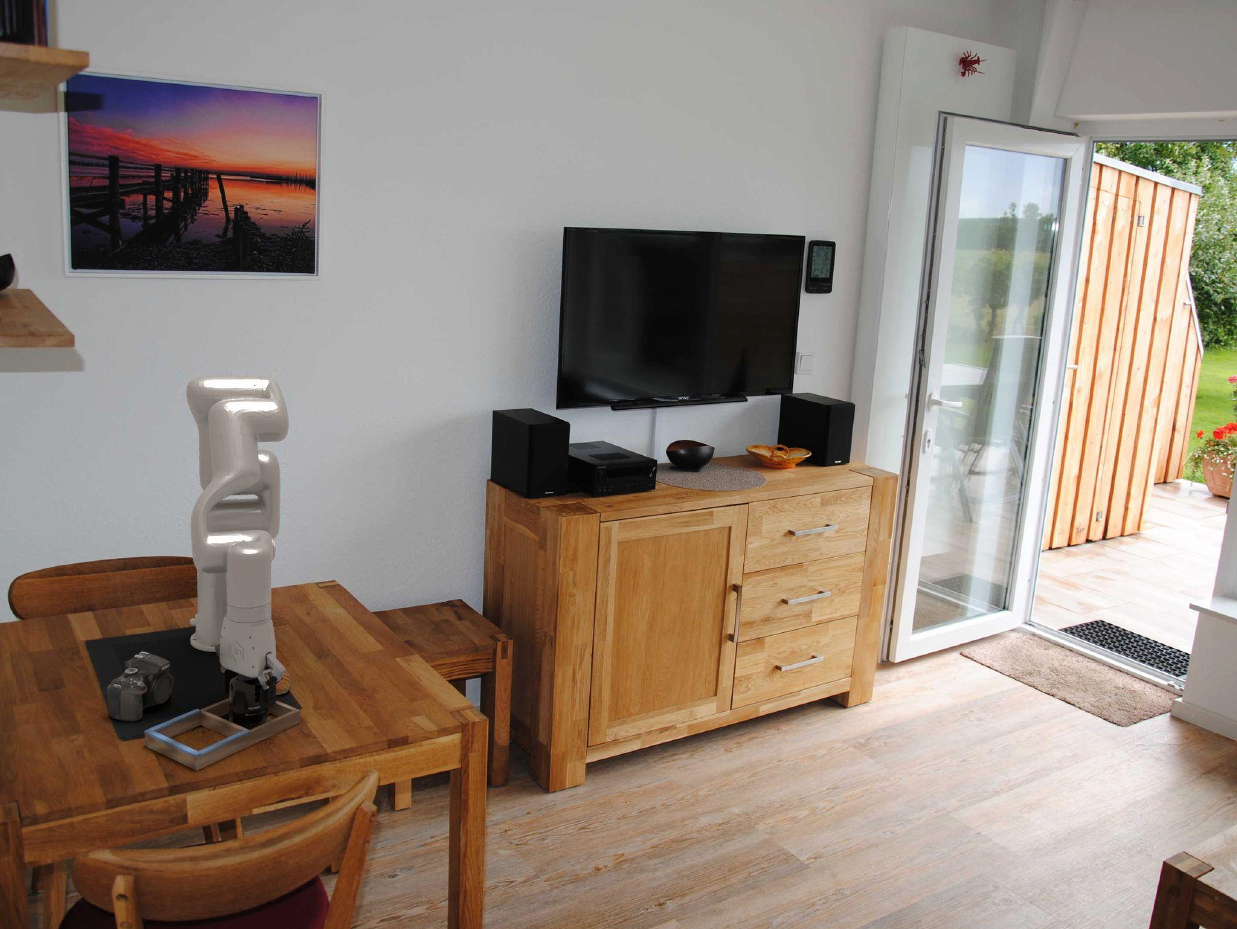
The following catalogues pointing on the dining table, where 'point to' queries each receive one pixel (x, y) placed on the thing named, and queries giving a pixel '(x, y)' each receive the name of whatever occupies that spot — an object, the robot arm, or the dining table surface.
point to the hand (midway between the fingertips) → (249, 698)
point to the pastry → (283, 683)
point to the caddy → (210, 718)
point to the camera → (139, 687)
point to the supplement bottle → (246, 702)
